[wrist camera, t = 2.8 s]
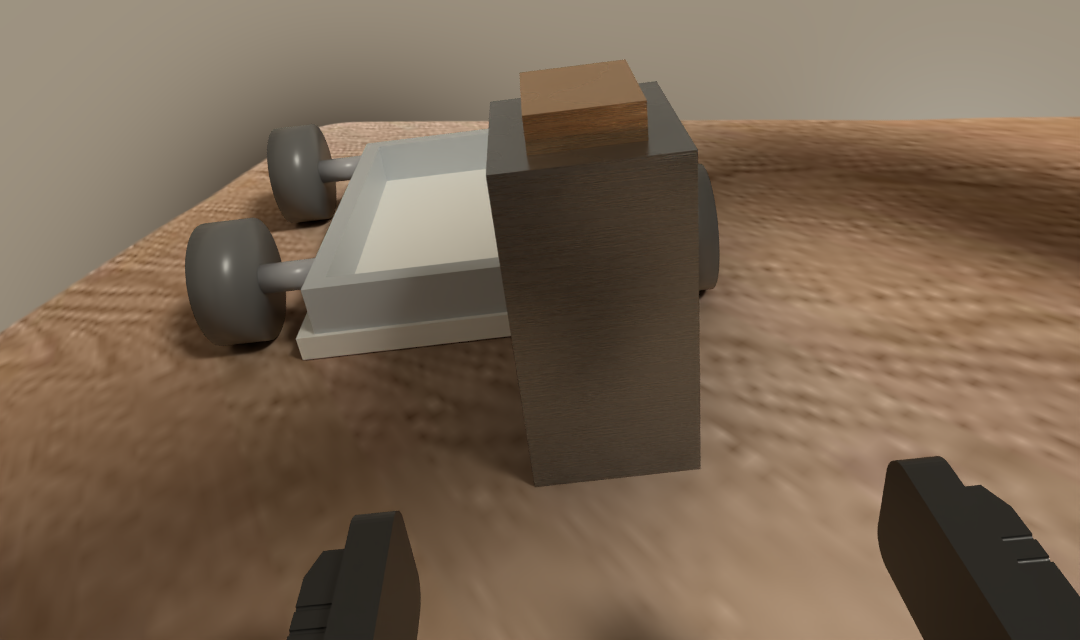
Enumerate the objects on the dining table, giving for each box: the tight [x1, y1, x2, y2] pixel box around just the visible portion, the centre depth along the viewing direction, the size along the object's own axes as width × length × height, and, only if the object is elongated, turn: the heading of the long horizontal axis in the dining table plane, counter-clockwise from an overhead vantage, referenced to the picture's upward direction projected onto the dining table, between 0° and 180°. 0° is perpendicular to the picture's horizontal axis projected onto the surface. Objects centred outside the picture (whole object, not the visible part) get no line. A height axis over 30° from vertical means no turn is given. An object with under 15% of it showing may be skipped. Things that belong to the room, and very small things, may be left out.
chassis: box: [185, 124, 719, 360], centre depth 37 cm, size 20×17×5 cm
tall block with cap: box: [486, 60, 700, 487], centre depth 23 cm, size 5×6×11 cm
